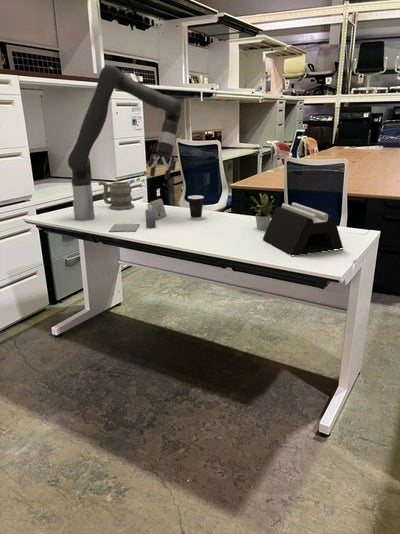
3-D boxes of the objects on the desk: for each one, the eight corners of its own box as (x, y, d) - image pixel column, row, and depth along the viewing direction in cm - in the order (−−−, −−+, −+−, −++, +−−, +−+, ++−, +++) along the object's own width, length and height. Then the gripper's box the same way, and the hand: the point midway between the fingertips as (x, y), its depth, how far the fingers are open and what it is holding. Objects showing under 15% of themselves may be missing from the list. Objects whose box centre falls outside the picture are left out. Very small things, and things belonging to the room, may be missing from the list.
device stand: (291, 257, 153) (293, 217, 147) (262, 241, 173) (264, 205, 167) (342, 250, 159) (346, 211, 154) (309, 235, 179) (312, 200, 174)
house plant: (241, 225, 196) (242, 190, 191) (269, 223, 199) (270, 189, 193) (251, 232, 183) (252, 196, 178) (280, 230, 186) (282, 194, 180)
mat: (109, 232, 188) (109, 230, 188) (114, 225, 200) (114, 224, 199) (135, 231, 188) (135, 230, 188) (139, 225, 199) (139, 223, 199)
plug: (144, 227, 195) (143, 205, 191) (150, 225, 198) (148, 203, 195) (151, 228, 193) (150, 206, 189) (157, 226, 196) (156, 204, 193)
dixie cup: (203, 216, 214) (203, 195, 211) (204, 220, 207) (204, 198, 203) (187, 217, 214) (187, 195, 210) (188, 220, 206) (188, 198, 203)
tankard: (137, 206, 241) (135, 180, 235) (126, 211, 230) (123, 183, 224) (107, 204, 247) (105, 178, 242) (95, 208, 236) (92, 182, 231)
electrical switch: (156, 220, 208) (154, 201, 206) (148, 220, 211) (146, 201, 208) (167, 216, 216) (164, 198, 213) (158, 216, 219) (156, 198, 216)
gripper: (149, 139, 196) (142, 173, 198) (174, 142, 189) (166, 177, 190) (159, 144, 203) (152, 177, 204) (182, 147, 195) (175, 181, 197)
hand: (159, 177), depth 197 cm, fingers open, 8 cm apart
